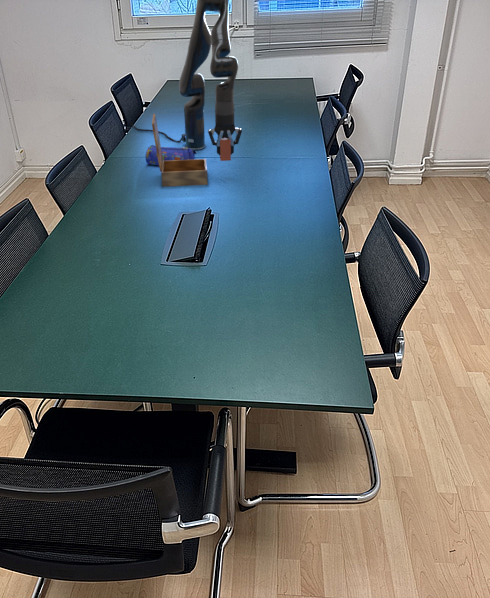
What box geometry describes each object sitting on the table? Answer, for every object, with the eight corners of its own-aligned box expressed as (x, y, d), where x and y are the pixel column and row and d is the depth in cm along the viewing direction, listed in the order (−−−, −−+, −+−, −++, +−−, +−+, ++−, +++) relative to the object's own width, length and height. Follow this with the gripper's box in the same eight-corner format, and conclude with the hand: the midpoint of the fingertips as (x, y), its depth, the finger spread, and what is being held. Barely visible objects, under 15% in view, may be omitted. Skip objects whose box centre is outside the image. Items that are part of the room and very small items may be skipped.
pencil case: (197, 165, 245) (196, 144, 240) (190, 172, 239) (189, 151, 233) (152, 161, 251) (150, 140, 246) (144, 167, 245) (142, 146, 239)
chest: (206, 174, 237) (205, 158, 233) (207, 186, 226) (207, 170, 222) (163, 175, 237) (162, 160, 233) (162, 188, 225) (161, 172, 221)
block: (230, 156, 227) (229, 136, 222) (230, 160, 224) (230, 139, 219) (219, 157, 227) (219, 137, 222) (220, 160, 223) (220, 140, 219)
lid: (155, 113, 221) (153, 113, 221) (153, 123, 210) (151, 124, 210) (162, 159, 232) (161, 159, 232) (162, 171, 221) (160, 171, 221)
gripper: (242, 108, 218) (241, 150, 227) (206, 109, 217) (207, 152, 227) (243, 113, 212) (243, 156, 221) (206, 115, 211) (208, 158, 221)
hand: (225, 154), depth 224 cm, fingers closed on block, 4 cm apart
